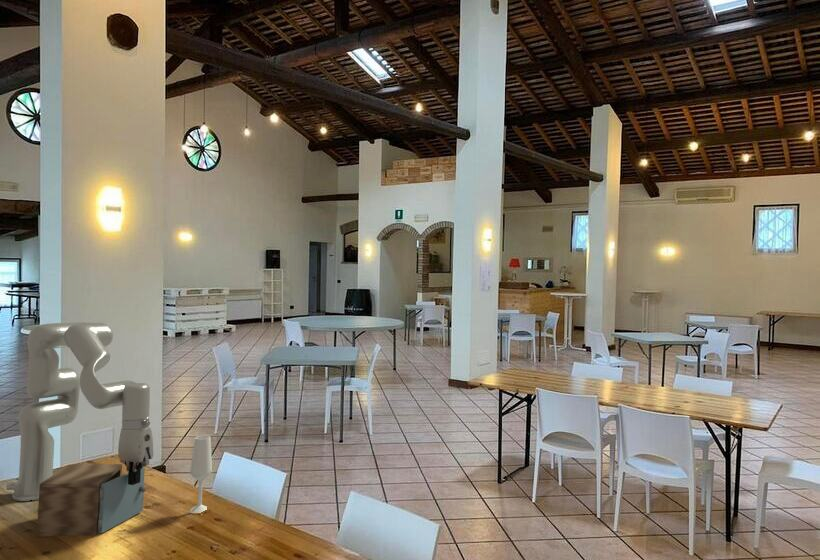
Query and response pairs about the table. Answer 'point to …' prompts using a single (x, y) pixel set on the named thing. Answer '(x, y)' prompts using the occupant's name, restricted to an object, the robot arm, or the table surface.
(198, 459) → the champagne flute
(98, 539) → the table surface
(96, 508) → the walnut cabinet
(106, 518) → the cabinet door
